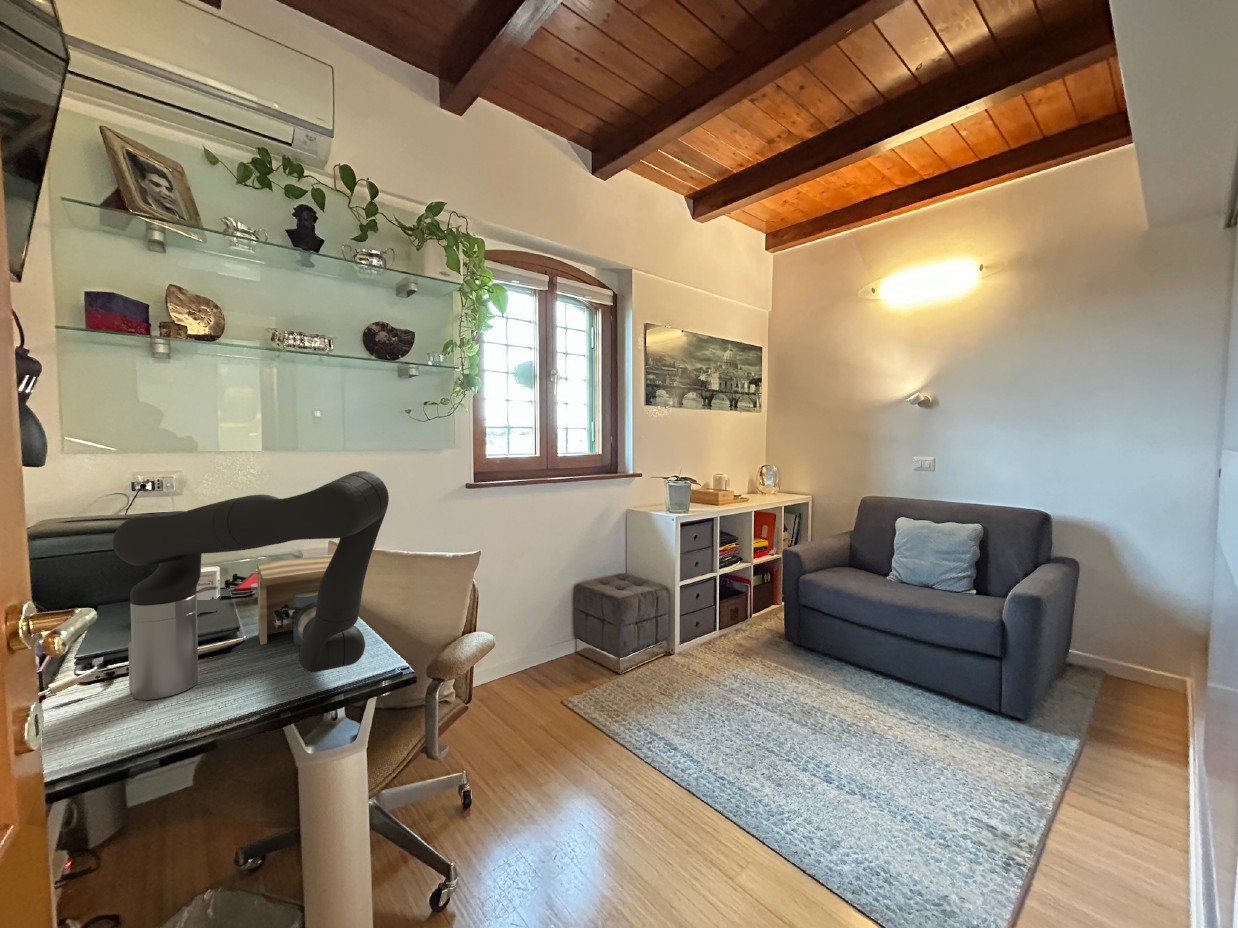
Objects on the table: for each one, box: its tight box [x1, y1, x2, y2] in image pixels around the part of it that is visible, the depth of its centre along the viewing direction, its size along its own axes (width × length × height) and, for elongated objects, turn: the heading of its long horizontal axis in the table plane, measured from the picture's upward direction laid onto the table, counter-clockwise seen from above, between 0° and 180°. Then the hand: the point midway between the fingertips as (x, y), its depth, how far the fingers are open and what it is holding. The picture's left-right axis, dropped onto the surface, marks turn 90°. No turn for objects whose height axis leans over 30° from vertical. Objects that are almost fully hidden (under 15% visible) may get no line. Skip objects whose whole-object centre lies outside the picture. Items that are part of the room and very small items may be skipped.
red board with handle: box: [224, 572, 258, 597], centre depth 166 cm, size 30×3×15 cm
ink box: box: [196, 566, 221, 600], centre depth 139 cm, size 9×5×12 cm, turn 120°
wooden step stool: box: [256, 553, 334, 645], centre depth 121 cm, size 18×18×18 cm
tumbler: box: [292, 590, 319, 646], centre depth 120 cm, size 6×6×11 cm
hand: (307, 605), depth 121 cm, fingers open, 8 cm apart
